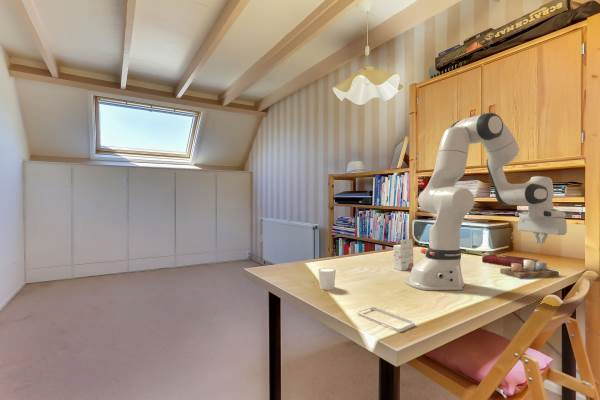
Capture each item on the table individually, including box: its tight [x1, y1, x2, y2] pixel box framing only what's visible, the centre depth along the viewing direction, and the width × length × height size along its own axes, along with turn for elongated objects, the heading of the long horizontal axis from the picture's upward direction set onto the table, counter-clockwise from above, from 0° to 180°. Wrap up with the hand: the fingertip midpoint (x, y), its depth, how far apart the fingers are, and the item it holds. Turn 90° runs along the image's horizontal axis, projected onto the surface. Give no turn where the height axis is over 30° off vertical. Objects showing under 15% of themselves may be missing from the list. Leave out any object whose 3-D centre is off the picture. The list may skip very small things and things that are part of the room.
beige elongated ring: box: [356, 306, 415, 333], centre depth 86 cm, size 7×1×15 cm
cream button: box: [524, 260, 534, 271], centre depth 135 cm, size 4×4×4 cm
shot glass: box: [317, 267, 337, 291], centre depth 117 cm, size 7×7×7 cm
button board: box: [499, 267, 560, 280], centre depth 135 cm, size 20×10×2 cm, turn 100°
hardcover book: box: [481, 253, 540, 268], centre depth 155 cm, size 12×21×4 cm, turn 32°
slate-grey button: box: [536, 261, 548, 271], centre depth 136 cm, size 4×4×4 cm
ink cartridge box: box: [393, 238, 414, 271], centre depth 148 cm, size 9×5×15 cm, turn 118°
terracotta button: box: [510, 263, 522, 272], centre depth 133 cm, size 4×4×4 cm
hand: (540, 243), depth 136 cm, fingers closed
